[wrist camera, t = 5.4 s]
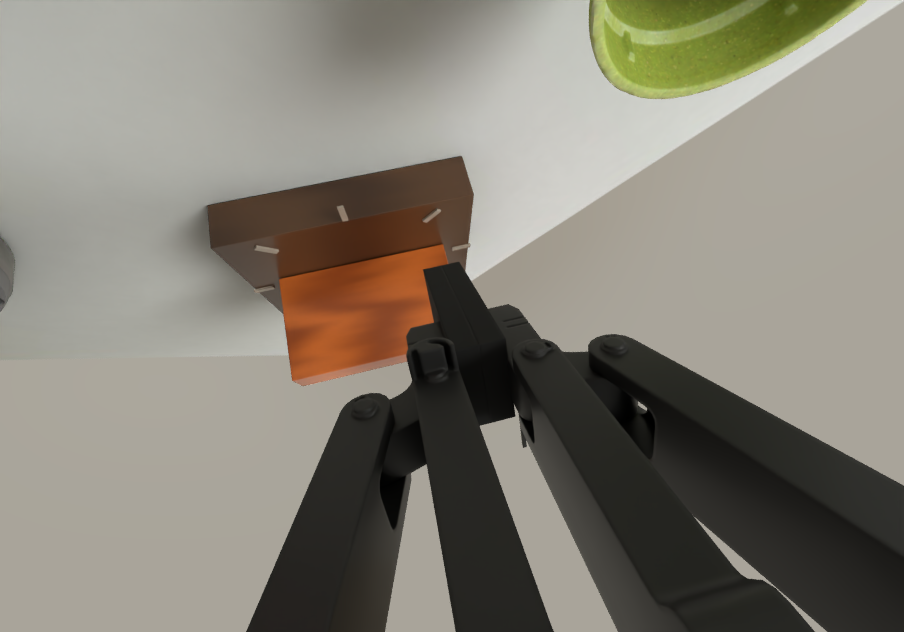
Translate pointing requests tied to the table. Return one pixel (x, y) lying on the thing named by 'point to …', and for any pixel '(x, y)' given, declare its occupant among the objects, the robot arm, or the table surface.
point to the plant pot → (700, 40)
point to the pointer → (356, 314)
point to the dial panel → (344, 223)
